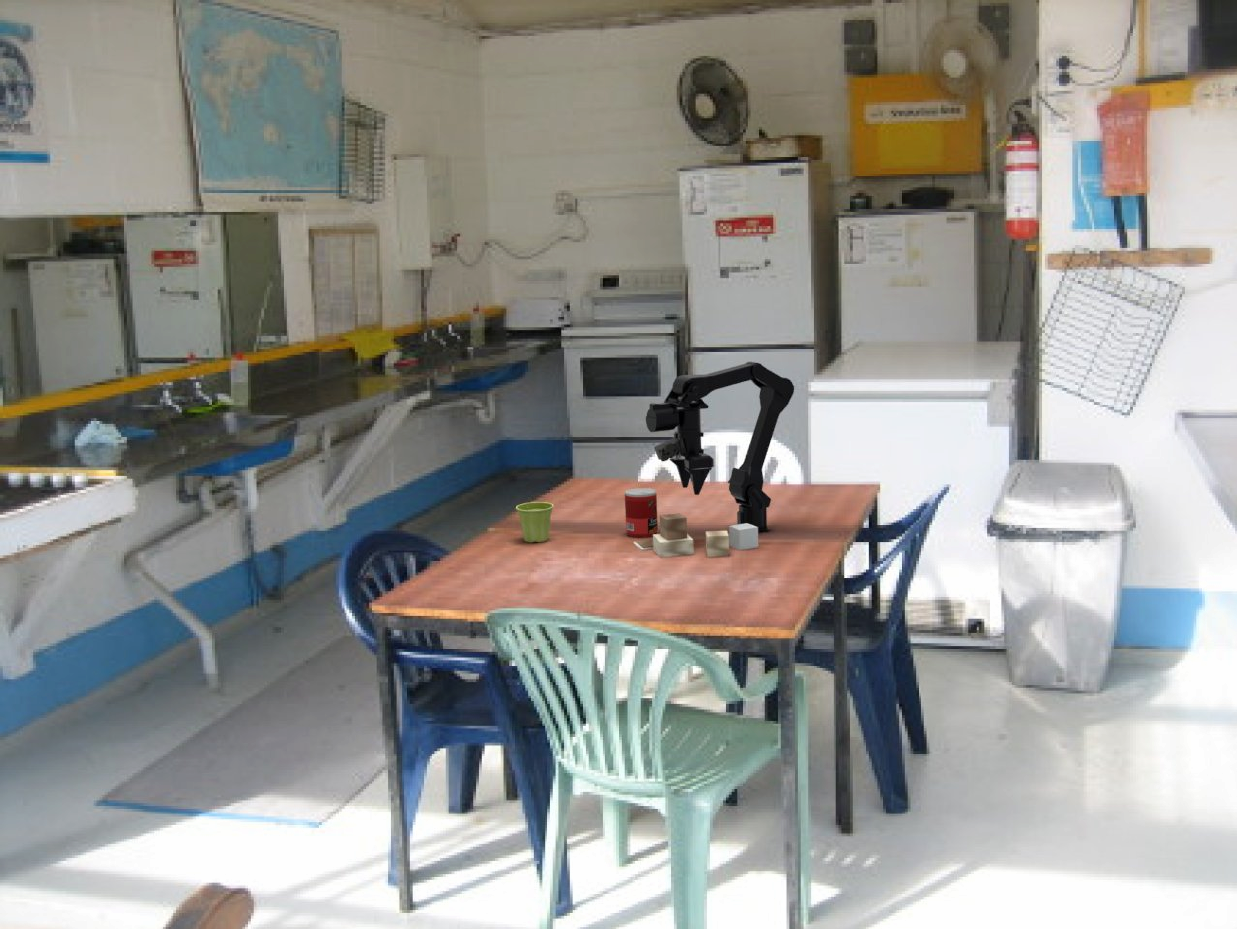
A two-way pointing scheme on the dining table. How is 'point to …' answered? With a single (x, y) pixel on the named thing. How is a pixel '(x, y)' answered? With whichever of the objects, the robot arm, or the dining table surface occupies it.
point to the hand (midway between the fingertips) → (690, 491)
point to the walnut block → (673, 526)
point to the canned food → (641, 512)
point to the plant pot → (535, 520)
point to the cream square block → (672, 546)
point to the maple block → (717, 543)
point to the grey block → (743, 536)
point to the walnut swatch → (644, 544)
